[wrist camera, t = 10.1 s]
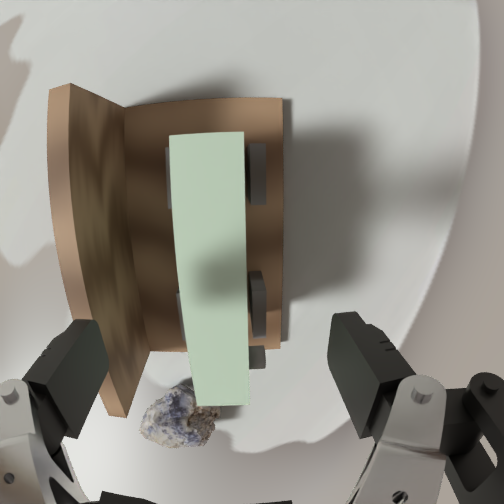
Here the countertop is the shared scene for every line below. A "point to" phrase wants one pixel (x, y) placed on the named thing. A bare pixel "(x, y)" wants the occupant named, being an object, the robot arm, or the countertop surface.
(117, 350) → the hinge base
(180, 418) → the mineral specimen
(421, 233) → the countertop surface
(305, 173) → the countertop surface
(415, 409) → the robot arm
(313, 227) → the countertop surface
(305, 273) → the countertop surface
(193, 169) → the cabinet door
